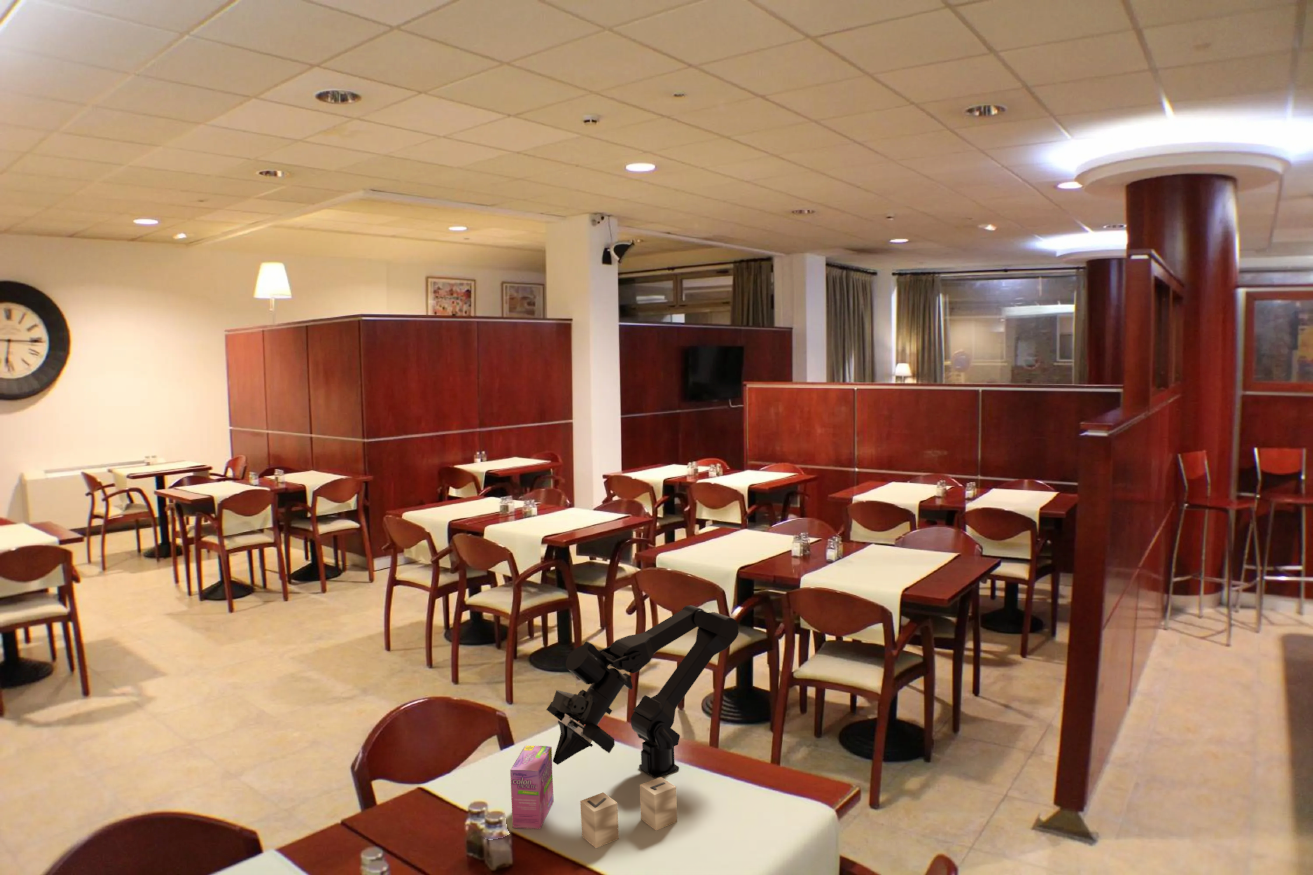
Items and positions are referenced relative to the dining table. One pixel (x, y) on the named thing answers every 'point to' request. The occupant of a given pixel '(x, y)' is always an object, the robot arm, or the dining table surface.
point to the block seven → (599, 820)
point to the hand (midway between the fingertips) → (555, 762)
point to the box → (531, 787)
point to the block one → (658, 803)
